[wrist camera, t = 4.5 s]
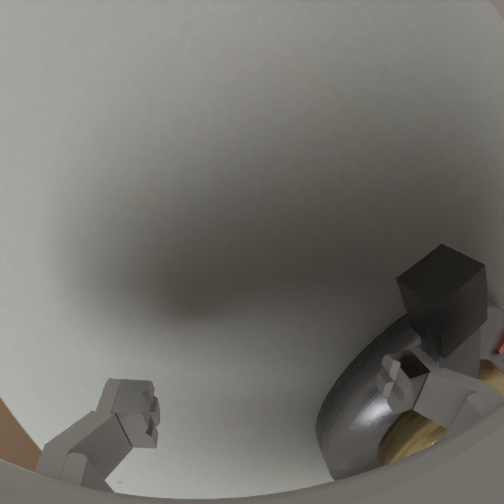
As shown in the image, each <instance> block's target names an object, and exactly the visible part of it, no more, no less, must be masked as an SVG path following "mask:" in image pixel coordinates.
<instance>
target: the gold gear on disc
mask: <svg viewBox="0 0 504 504" xmlns="http://www.w3.org/2000/svg"><path fill="white" fill-rule="evenodd" d="M416 346H418V347H421V348H422V344H421V340H420V335H419V334H418V333H417V332H416V331H414V330H413V329H412V328H411V327H410V323H409V319H408V316H407V314H406V315H405V316H403V317H402V318H401V319H399V320H398V321H397V322H395V323H394V324H393V325H391V326H390V327H389V328H388V329H386V330H385V331H384V332H383V333H382V334H381V335H379V336H378V337H377V338H376V339H375V340H374V341H373V342H372V343H371V344H370V345H369V346H368V347H367V348H365V349H364V350H363V351H362V352H361V353H360V354H359V355H358V357H357V358H356V359H355V360H354V361H353V362H352V363H351V364H350V365H349V366H348V368H347V369H346V370H345V371H344V373H343V374H342V375H341V376H340V378H339V379H338V380H337V381H336V383H335V384H334V386H333V387H332V389H331V390H330V392H329V393H328V395H327V397H326V399H325V401H324V403H323V404H322V407H321V409H320V412H319V414H318V417H317V422H316V437H317V441H318V444H319V446H320V449H321V451H322V454H323V457H324V459H325V462H326V464H327V467H328V470H329V472H330V475H331V476H332V478H333V479H334V480H335V481H337V480H341V479H344V478H348V477H351V476H354V475H358V474H361V473H364V472H367V471H370V470H373V469H376V468H379V467H380V466H379V464H378V462H377V452H378V450H379V448H380V446H381V444H382V442H383V441H384V439H385V438H386V437H387V435H388V434H389V433H390V431H391V430H392V429H393V428H394V427H395V425H396V424H397V423H398V422H399V421H400V420H401V419H402V418H403V417H404V416H405V415H406V414H407V413H408V412H409V411H410V410H411V409H410V410H407V411H404V412H401V413H398V414H394V413H393V411H392V410H391V408H390V407H389V405H388V404H387V401H388V398H386V397H384V396H382V395H381V393H380V392H379V389H378V387H377V377H378V373H379V372H380V371H381V369H382V368H383V366H382V364H381V363H382V360H383V358H384V356H385V355H387V354H391V353H395V352H399V351H403V350H407V349H409V348H413V347H416ZM482 359H488V360H491V361H492V362H493V363H494V364H495V365H496V366H497V367H499V368H500V369H501V370H502V371H503V372H504V311H503V310H502V309H500V308H499V307H497V306H496V305H494V304H493V303H491V302H490V301H488V300H487V320H486V321H485V322H484V323H483V324H482V325H481V343H480V360H482Z"/></svg>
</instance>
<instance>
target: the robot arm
mask: <svg viewBox="0 0 504 504" xmlns="http://www.w3.org/2000/svg"><path fill="white" fill-rule="evenodd" d="M381 364H382V366H383V368H382V369H381V371H380V372H379V373H378V377H377V387H378V389H379V392H380V393H381V395H382V396H384V397H386V398H388V401H387V404H388V405H389V407H390V408H391V410H392V411H393V413H394V414H398V413H401V412H404V411H407V410H410V409H413V410H414V411H416V412H418V413H420V414H421V415H423V416H425V417H426V418H428V419H430V420H432V421H433V422H435V423H437V424H439V425H441V426H442V427H444V428H446V429H448V431H447V432H446V434H445V435H444V437H443V439H442V440H441V441H439V442H437V443H435V444H433V445H431V446H429V447H427V448H425V449H423V450H421V451H418V452H416V453H414V454H412V455H409V456H407V457H405V458H402V459H400V460H397V461H395V462H392V463H390V464H387V465H384V466H381V467H379V468H376V469H373V470H370V471H367V472H364V473H361V474H358V475H354V476H351V477H348V478H344V479H341V480H337V481H333V482H329V483H325V484H321V485H317V486H312V487H308V488H303V489H298V490H292V491H287V492H281V493H274V494H267V495H259V496H250V497H238V498H222V499H172V498H156V497H145V496H136V495H128V494H121V493H115V492H114V491H113V490H112V489H111V487H110V486H109V485H108V484H107V483H106V481H105V479H106V478H107V477H108V475H109V474H110V473H111V472H112V471H113V470H114V469H115V468H116V467H117V465H118V464H119V463H120V462H121V461H122V460H123V459H124V458H125V456H126V455H127V454H128V453H129V452H130V451H131V450H132V447H136V448H157V439H158V431H157V429H156V426H157V425H158V424H159V423H160V407H159V402H158V399H157V398H156V397H155V396H154V390H155V389H154V386H153V382H152V381H146V380H128V379H123V380H122V379H111V378H110V379H108V380H107V382H106V384H105V387H104V390H103V392H102V395H101V398H100V400H99V403H98V406H97V409H96V411H91V412H90V413H88V414H87V415H86V416H84V417H83V418H81V419H80V420H79V421H77V422H76V423H74V424H73V425H72V426H70V427H69V428H68V429H66V430H65V431H63V432H62V433H61V434H59V435H58V436H56V437H55V438H53V439H52V440H51V441H49V442H48V443H46V444H45V446H44V449H43V451H42V454H41V456H40V459H39V461H38V464H37V467H36V469H35V472H32V471H29V470H26V469H24V468H21V467H18V466H16V465H13V464H11V463H9V462H6V461H4V460H2V459H0V504H504V397H503V396H502V395H501V394H500V393H499V392H498V391H497V390H496V389H495V388H494V387H493V386H492V385H491V384H490V383H488V382H485V381H482V380H479V379H476V378H473V377H470V376H467V375H464V374H461V373H458V372H455V371H452V370H449V369H447V368H442V369H441V368H440V367H439V366H438V365H437V364H436V362H435V361H434V360H433V359H432V358H431V357H430V356H429V355H428V354H427V353H426V352H425V351H424V350H423V349H422V348H421V347H418V346H416V347H413V348H409V349H407V350H403V351H399V352H395V353H391V354H387V355H385V356H384V358H383V360H382V363H381Z"/></svg>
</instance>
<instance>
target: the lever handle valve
mask: <svg viewBox="0 0 504 504" xmlns="http://www.w3.org/2000/svg"><path fill="white" fill-rule="evenodd" d="M396 279H397V283H398V286H399V289H400V292H401V295H402V299H403V302H404V305H405V309H406V312H407V316H408V319H409V323H410V327H411V328H412V329H413V330H414V331H416V332H417V333H418V334H419V335H420V340H421V344H422V349H423V350H424V351H425V352H426V353H427V354H428V355H429V356H430V357H431V358H432V359H433V360H434V361H435V362H436V364H437V365H438V366H439V367H440V368H441V369H442V368H447V369H449V370H452V371H455V372H458V373H461V374H464V375H467V376H470V377H473V378H476V379H479V380H482V381H485V382H488V383H490V384H491V385H492V386H493V387H494V388H495V389H496V390H497V391H498V392H499V393H500V394H501V395H502V396H503V397H504V372H503V371H502V370H501V369H500V368H499V367H497V366H496V365H495V364H494V363H493V362H492V361H491V360H488V359H482V360H480V343H481V325H482V324H483V323H484V322H485V321H486V320H487V285H486V271H485V265H484V264H482V263H480V262H478V261H476V260H474V259H472V258H470V257H468V256H466V255H464V254H462V253H460V252H457V251H455V250H453V249H451V248H449V247H447V246H445V245H443V244H441V245H439V246H438V247H437V248H436V249H434V250H433V251H432V252H431V253H429V254H428V255H427V256H425V257H424V258H423V259H422V260H420V261H419V262H418V263H416V264H415V265H414V266H412V267H411V268H410V269H408V270H407V271H406V272H404V273H403V274H402V275H400V276H399V277H397V278H396ZM447 431H448V429H446V428H444V427H442V426H441V425H439V424H437V423H435V422H433V421H432V420H430V419H428V418H426V417H425V416H423V415H421V414H420V413H418V412H416V411H414V410H413V409H411V410H410V411H409V412H408V413H407V414H406V415H405V416H404V417H403V418H402V419H401V420H400V421H399V422H398V423H397V424H396V425H395V427H394V428H393V429H392V430H391V431H390V433H389V434H388V435H387V437H386V438H385V439H384V441H383V442H382V444H381V446H380V448H379V450H378V452H377V462H378V464H379V466H380V467H381V466H384V465H387V464H390V463H392V462H395V461H397V460H400V459H402V458H405V457H407V456H409V455H412V454H414V453H416V452H418V451H421V450H423V449H425V448H427V447H429V446H431V445H433V444H435V443H437V442H439V441H441V440H442V439H443V437H444V435H445V434H446V432H447Z"/></svg>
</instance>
